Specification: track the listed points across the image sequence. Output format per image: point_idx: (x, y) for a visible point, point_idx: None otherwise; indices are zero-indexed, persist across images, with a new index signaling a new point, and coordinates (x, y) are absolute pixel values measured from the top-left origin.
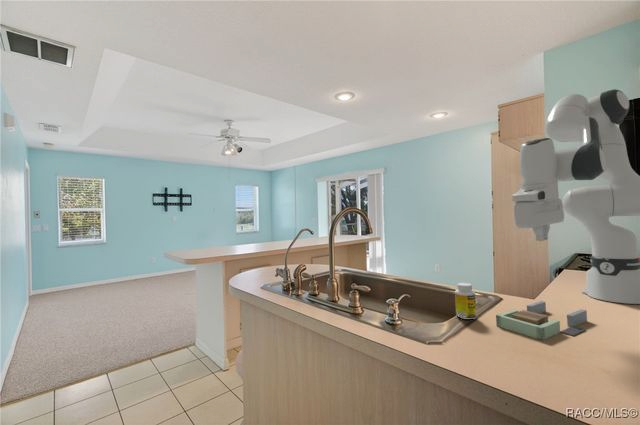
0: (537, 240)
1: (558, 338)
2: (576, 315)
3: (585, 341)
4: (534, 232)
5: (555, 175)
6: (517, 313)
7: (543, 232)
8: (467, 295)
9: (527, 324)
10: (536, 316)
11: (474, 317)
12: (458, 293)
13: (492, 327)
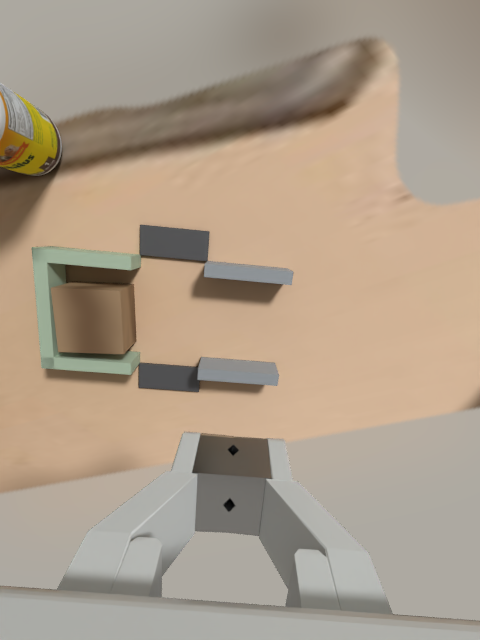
0: (186, 437)
1: None
2: (220, 380)
3: (130, 407)
4: (136, 494)
5: None
6: (73, 294)
7: (273, 526)
8: None
9: (39, 336)
10: (91, 338)
11: (31, 175)
12: None
13: (32, 244)
